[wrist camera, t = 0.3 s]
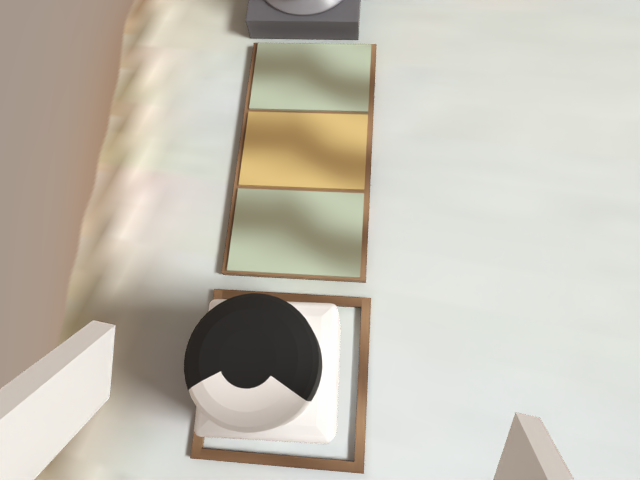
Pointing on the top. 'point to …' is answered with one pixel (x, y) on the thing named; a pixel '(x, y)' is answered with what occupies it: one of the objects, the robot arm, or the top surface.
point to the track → (304, 164)
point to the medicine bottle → (265, 370)
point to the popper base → (303, 19)
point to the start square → (358, 462)
